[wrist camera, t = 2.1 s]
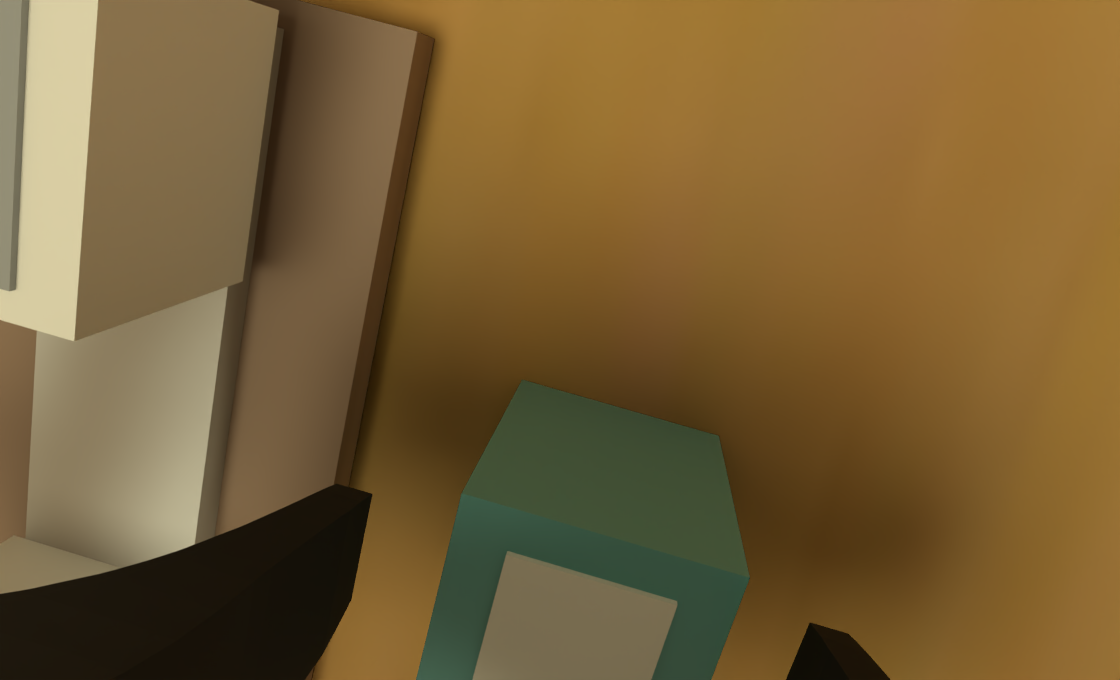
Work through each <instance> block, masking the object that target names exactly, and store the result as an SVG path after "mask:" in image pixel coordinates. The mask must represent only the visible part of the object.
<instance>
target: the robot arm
mask: <svg viewBox="0 0 1120 680" xmlns="http://www.w3.org/2000/svg"><path fill="white" fill-rule="evenodd" d="M371 498H372V494H371V493H367V492H364V491H360V490H357V489H354V488H350V487H347V486H343V485H340V484H334V485H332V486H329V487H327V488H325V489H322V490H320V491H318V492H316V493H314V494H312V495H309V496H307V497H305V498H303V499H301V500H299V501H297V502H294V503H292V504H290V505H288V506H286V507H284V508H281V509H279V510H277V511H275V512H272V513H270V514H268V515H266V516H263V517H261V518H259V519H257V520H254V521H252V522H250V523H248V524H245V525H243V526H241V527H238V528H236V529H233V530H231V531H228V532H225V533H223V534H220V535H218V536H215V537H212V538H210V539H207V540H205V541H202V542H200V543H197V544H194V545H192V546H189V547H187V548H184V549H181V550H178V551H175V552H172V553H169V554H166V555H163V556H160V557H157V558H154V559H151V560H147V561H144V562H140V563H137V564H133V565H130V566H126V567H123V568H119V569H116V570H112V571H108V572H104V573H101V574H96V575H91V576H87V577H82V578H78V579H73V580H69V581H64V582H59V583H55V584H50V585H46V586H41V587H37V588H32V589H26V590H21V591H15V592H9V593H3V594H0V680H305V679H306V678H307V676H308V675H309V673H310V672H311V670H312V669H313V667H314V666H315V664H316V663H317V662H318V660H319V659H320V657H321V656H322V654H323V652H324V651H325V649H326V647H327V645H328V643H329V641H330V639H331V638H332V636H333V634H334V632H335V630H336V628H337V626H338V624H339V622H340V621H341V619H342V617H343V615H344V613H345V611H346V609H347V607H348V605H349V603H350V601H351V598H352V593H353V588H354V583H355V578H356V573H357V568H358V563H359V558H360V553H361V548H362V543H363V538H364V533H365V528H366V523H367V518H368V513H369V508H370V503H371ZM786 680H890V679H889V677H888V676H887V675H886V674H885V673H884V672H883V671H882V669H881V668H880V667H879V666H878V665H877V664H876V663H875V661H874V660H873V659H872V658H871V657H870V656H869V655H868V654H867V652H866V651H865V650H864V649H863V648H862V647H861V646H860V645H859V644H858V643H857V642H856V641H855V640H854V639H853V638H852V637H851V636H850V635H849V634H847V633H844V632H841V631H837V630H834V629H830V628H827V627H824V626H820V625H817V624H813V623H809V626H808V628H807V631H806V633H805V635H804V638H803V640H802V643H801V645H800V648H799V650H798V652H797V655H796V657H795V660H794V662H793V664H792V667H791V669H790V672H789V674H788V676H787V679H786Z"/></svg>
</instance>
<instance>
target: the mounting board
mask: <svg viewBox="0 0 1120 680" xmlns="http://www.w3.org/2000/svg"><path fill="white" fill-rule="evenodd" d="M249 1H252V2H255V3H259V4H262V5H265V6H268V7H271V8H274V9H277V10H279V15H278V22H277V30H276V37H275V45H274V52H273V59H272V67H271V74H270V82H269V89H268V97H267V104H266V111H265V119H264V126H263V134H262V141H261V149H260V156H259V163H258V171H257V178H256V186H255V193H254V201H253V208H252V215H251V223H250V230H249V238H248V245H247V252H246V260H245V267H244V275H243V281H242V282H239V283H237V284H234V285H231V286H228V287H225V288H223V289H220V290H217V291H214V292H211V293H209V294H206V295H203V296H200V297H197V298H195V299H192V300H189V301H186V302H183V303H181V304H178V305H175V306H172V307H169V308H166V309H164V310H161V311H158V312H155V313H152V314H150V315H147V316H144V317H141V318H138V319H136V320H133V321H130V322H127V323H124V324H122V325H119V326H116V327H113V328H110V329H108V330H105V331H102V332H99V333H96V334H94V335H91V336H88V337H85V338H82V339H80V340H77V341H71V340H68V339H64V338H61V337H57V336H54V335H50V334H47V333H43V332H40V331H37V330H33V329H30V328H26V327H23V326H19V325H16V324H12V323H9V322H5V321H2V320H0V544H1V543H2V542H4V541H6V540H7V539H9V538H10V537H12V536H14V535H15V536H18V537H21V538H24V539H28V540H31V541H34V542H38V543H41V544H44V545H47V546H51V547H54V548H57V549H61V550H64V551H67V552H70V553H74V554H77V555H80V556H84V557H87V558H90V559H93V560H97V561H100V562H103V563H107V564H110V565H113V566H117V567H120V568H123V567H126V566H130V565H133V564H137V563H140V562H144V561H147V560H151V559H154V558H157V557H160V556H163V555H166V554H169V553H172V552H175V551H178V550H181V549H184V548H187V547H189V546H192V545H194V544H197V543H200V542H202V541H205V540H207V539H210V538H212V537H215V536H218V535H220V534H223V533H225V532H228V531H231V530H233V529H236V528H238V527H241V526H243V525H245V524H248V523H250V522H252V521H254V520H257V519H259V518H261V517H263V516H266V515H268V514H270V513H272V512H275V511H277V510H279V509H281V508H284V507H286V506H288V505H290V504H292V503H294V502H297V501H299V500H301V499H303V498H305V497H307V496H309V495H312V494H314V493H316V492H318V491H320V490H322V489H325V488H327V487H329V486H332V485H334V484H340V485H343V486H347V487H349V482H350V476H351V471H352V466H353V461H354V456H355V450H356V445H357V440H358V435H359V430H360V424H361V419H362V414H363V409H364V403H365V398H366V393H367V388H368V383H369V377H370V372H371V367H372V362H373V356H374V351H375V346H376V341H377V336H378V330H379V325H380V320H381V315H382V310H383V304H384V299H385V294H386V289H387V283H388V278H389V273H390V268H391V263H392V257H393V252H394V247H395V242H396V236H397V231H398V226H399V221H400V216H401V210H402V205H403V200H404V195H405V190H406V184H407V179H408V174H409V169H410V163H411V158H412V153H413V148H414V143H415V137H416V132H417V127H418V122H419V117H420V111H421V106H422V101H423V96H424V90H425V85H426V80H427V75H428V70H429V64H430V59H431V54H432V49H433V43H434V39H433V38H431V37H429V36H426V35H424V34H422V33H419V32H417V31H413V30H409V29H405V28H402V27H398V26H394V25H390V24H386V23H382V22H379V21H375V20H371V19H367V18H363V17H360V16H356V15H352V14H348V13H344V12H341V11H337V10H333V9H329V8H325V7H322V6H318V5H314V4H310V3H306V2H303V1H299V0H249ZM313 670H314V667H313V669H312V670H311V672H310V673H309V675H308V676H307V678H306V679H305V680H312V675H313Z"/></svg>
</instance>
